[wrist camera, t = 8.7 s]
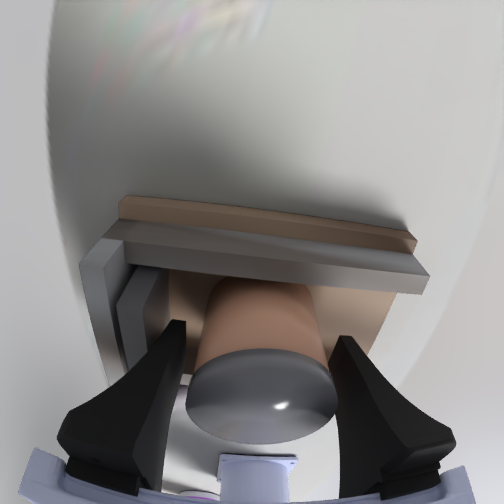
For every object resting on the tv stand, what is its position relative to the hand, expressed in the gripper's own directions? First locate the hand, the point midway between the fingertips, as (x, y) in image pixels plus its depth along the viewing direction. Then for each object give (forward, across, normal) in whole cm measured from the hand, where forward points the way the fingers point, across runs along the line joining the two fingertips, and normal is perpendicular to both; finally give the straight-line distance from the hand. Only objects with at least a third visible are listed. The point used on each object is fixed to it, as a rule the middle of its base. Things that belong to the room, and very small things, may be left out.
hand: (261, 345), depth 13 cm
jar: (+2, 0, 0) cm, 2 cm away
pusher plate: (+2, +5, 0) cm, 6 cm away
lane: (+3, 0, 0) cm, 3 cm away
